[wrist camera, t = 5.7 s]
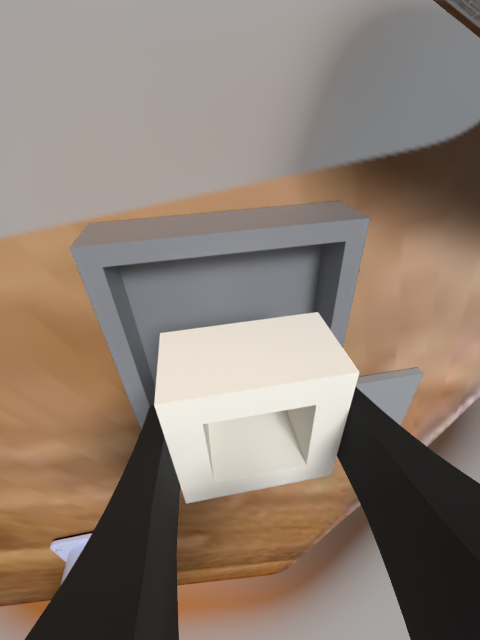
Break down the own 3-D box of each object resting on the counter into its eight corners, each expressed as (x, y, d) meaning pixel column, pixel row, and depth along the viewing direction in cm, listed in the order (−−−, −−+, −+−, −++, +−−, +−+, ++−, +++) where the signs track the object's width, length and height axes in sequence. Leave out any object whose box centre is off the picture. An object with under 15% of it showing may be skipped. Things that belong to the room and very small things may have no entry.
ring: (317, 312, 11) (359, 372, 8) (304, 410, 14) (331, 474, 11) (159, 333, 10) (153, 405, 8) (184, 431, 13) (186, 503, 11)
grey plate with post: (389, 434, 26) (429, 497, 21) (299, 451, 25) (323, 519, 21) (417, 367, 21) (476, 430, 17) (308, 385, 20) (341, 456, 16)
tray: (314, 371, 19) (330, 403, 17) (147, 398, 18) (143, 435, 16) (339, 200, 13) (369, 217, 11) (88, 223, 12) (69, 247, 10)
